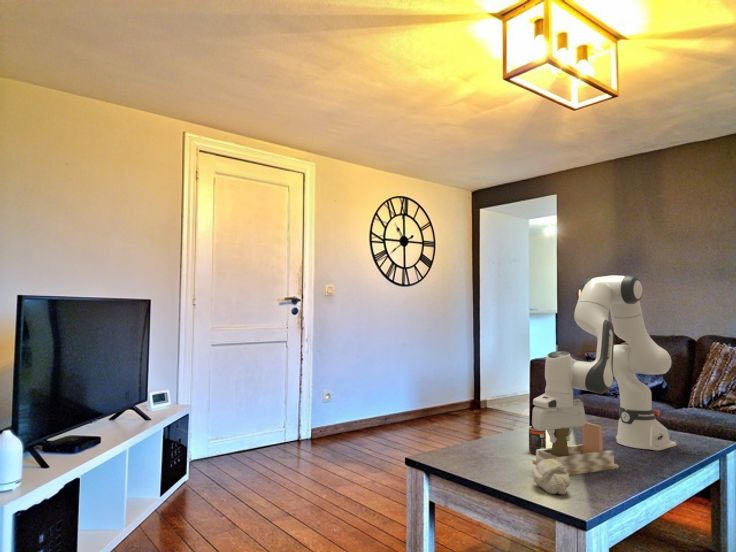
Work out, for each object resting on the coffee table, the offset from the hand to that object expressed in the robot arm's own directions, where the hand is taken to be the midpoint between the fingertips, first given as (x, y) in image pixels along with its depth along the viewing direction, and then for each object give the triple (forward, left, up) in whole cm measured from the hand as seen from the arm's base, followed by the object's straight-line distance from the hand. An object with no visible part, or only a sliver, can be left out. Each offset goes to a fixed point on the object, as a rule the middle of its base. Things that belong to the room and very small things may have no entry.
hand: (559, 441), depth 161 cm
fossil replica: (+18, +15, -9) cm, 25 cm away
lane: (-6, 0, -8) cm, 11 cm away
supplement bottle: (-4, -16, -9) cm, 19 cm away
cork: (0, 0, -6) cm, 6 cm away
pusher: (-14, 0, -7) cm, 16 cm away
